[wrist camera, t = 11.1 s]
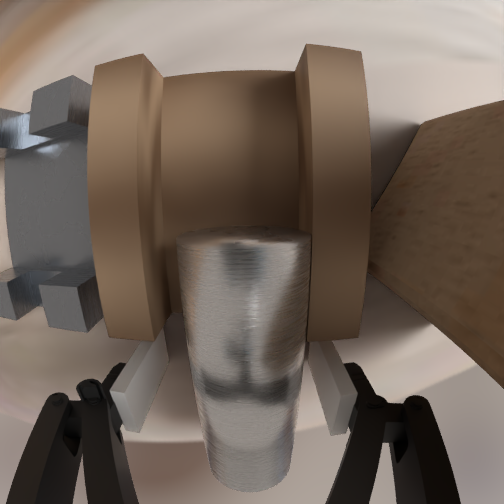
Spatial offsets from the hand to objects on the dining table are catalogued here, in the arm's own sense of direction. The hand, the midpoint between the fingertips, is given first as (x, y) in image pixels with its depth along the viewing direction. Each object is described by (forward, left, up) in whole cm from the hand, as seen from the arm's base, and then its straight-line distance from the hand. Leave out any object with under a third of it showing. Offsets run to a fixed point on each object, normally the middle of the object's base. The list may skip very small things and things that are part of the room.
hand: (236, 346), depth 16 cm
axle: (-1, 0, +2) cm, 2 cm away
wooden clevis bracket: (-5, 0, 0) cm, 5 cm away
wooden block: (-7, +13, 0) cm, 15 cm away
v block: (-9, -12, 0) cm, 15 cm away
